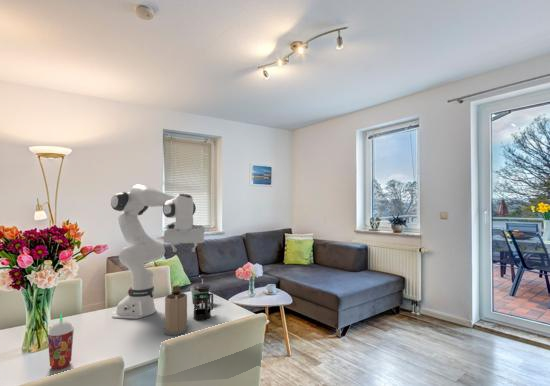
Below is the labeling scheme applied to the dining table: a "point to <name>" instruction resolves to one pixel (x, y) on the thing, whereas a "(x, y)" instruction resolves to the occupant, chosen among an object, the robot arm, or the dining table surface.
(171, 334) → the kraft paper canister
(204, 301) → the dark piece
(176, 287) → the plunger
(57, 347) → the smoothie
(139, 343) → the dining table surface
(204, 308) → the french press
